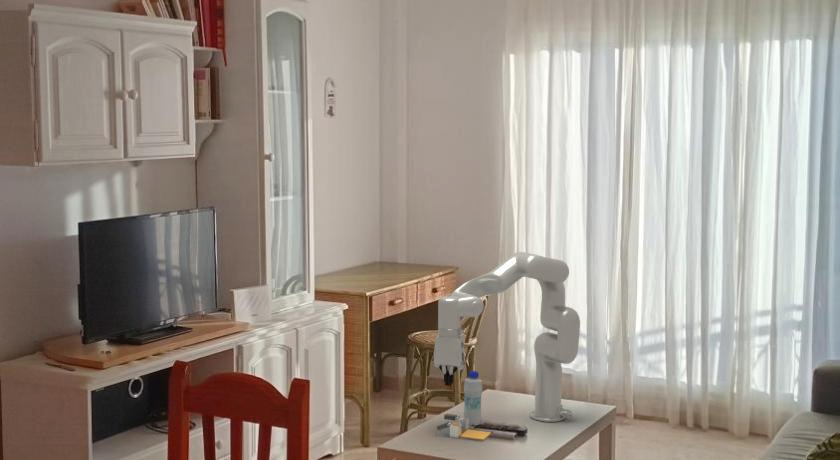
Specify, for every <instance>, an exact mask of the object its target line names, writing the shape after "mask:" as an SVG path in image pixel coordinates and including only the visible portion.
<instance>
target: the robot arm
mask: <svg viewBox="0 0 840 460" xmlns="http://www.w3.org/2000/svg"><path fill="white" fill-rule="evenodd" d="M569 274H570V268H569V266H568V264H567V263H566V262H565V261H564V260H561V259H556V258H551V257H546V256H543V255H538V254H534V253H529V252H523V251H519V252H518V251H517V252H515V253H513V254H511V255H510V256H509V257H507V258H506V259H505V260H504V261H502V262H501V263H500V264H499V265H497V266H496V267H495V268H493V269H492V270H491V271H489V272H488V273H485V274H481V275H480V276H477V277H475V278H472V279H469V280H467V281H465V282H464V283H463V284H462V285H460V286H459V287H457V288H456V289H454V291H453V292H452V293H451V294H450V295H444V296H441V297H439V298H438V301H437V302H438V304H437V306H438V307H437V309H438V311H437V312H438V316H437V317H438V318H437V319H438V320H437V326H438V327H437V329H438V330H437V331H438V332H437V335H436V337H435V342H434V348H433V349H434V350H433V367H435V368H437V369H439V370H440V371H441V373H442V374H443V383H444V386H446V387H447V386H448V387H450V386H452V385H453V383H454V379H455V378H454V377H455V376H454V375H455V373H456V372H457V371H460V370H464V369H465V364H464V363H465V361H466V357H465V356H466V355H465V354H466V353H465V344H464V343H465V342H464V338H463V336H462V335H464V334H465V330H462V327H461V318H475V317H478V316H480V315H481V314H482V313H483V311H484V308H485V307H484V302H483V300H482V299H481V298H482V297H485V296H488V295H489V296H490V295H497V294H500V293H501V294H502V293H504V292H506V291H507V290H508V289H510V288H511V287H512V286H513V285H514V284H516V283H517V282H518V281H520V280H521V279H522V278H529V279H534V280H536V281H537V282H538V284H539V286H540V290H541V302H540V315H539V316H540V318H539V319H540V320H539V321H540V324H541V325H542V326H543V327H544V328H545V329H548V330H550V331H554V332H557V333H553V332H550V331H549V332H541V333H539V334H538V335H537V336H536V338H535V340H534V345H533V350H534V356H535V391H534V392H535V393H534V395H535V396H534V410H533V411H531V412H530V418H531V419H533V420H534V421H539V422H546V423H556V422H562V421H563V420H565V419H566V417H572V416H573V410H571V409H565V408H564V405H563V404H562V390H563V389H562V386H563V385H562V384H563V382H562V381H563V367H562V364H565V365H568V364H572V363H573V362H574V361H575V359H576V358H577V355H578V353H579V346H580V331H581V319H580V315H579V314H578V312H577V311H576V310H575V309H574V308H573V307H569V306H566V288H565V284H564V282H565V281H567V279H568V278H569V276H570V275H569ZM565 416H566V417H565Z"/></svg>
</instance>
